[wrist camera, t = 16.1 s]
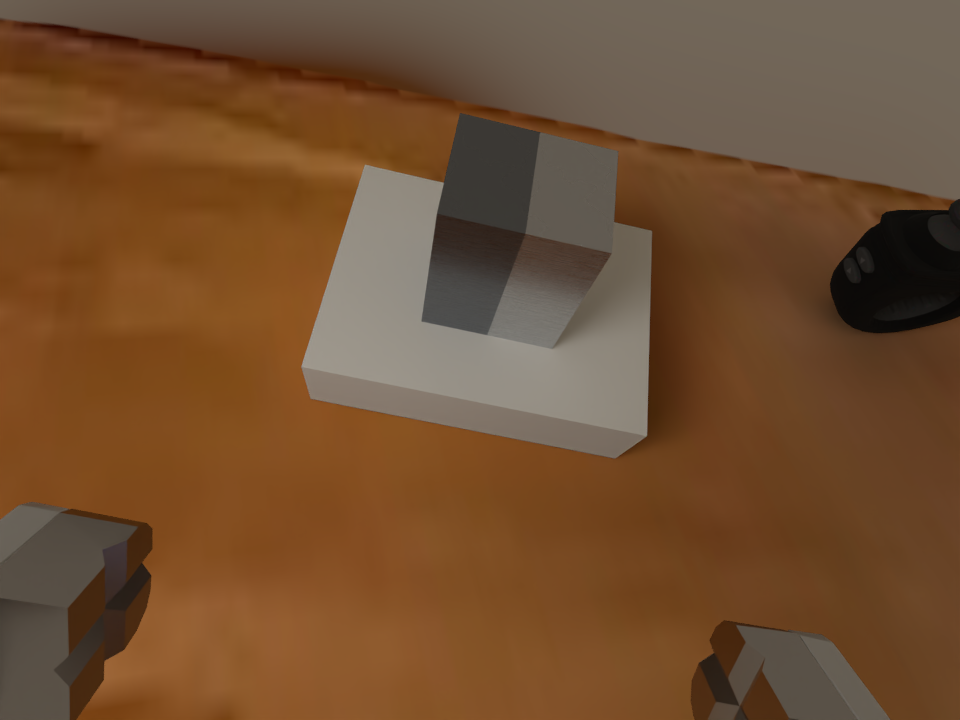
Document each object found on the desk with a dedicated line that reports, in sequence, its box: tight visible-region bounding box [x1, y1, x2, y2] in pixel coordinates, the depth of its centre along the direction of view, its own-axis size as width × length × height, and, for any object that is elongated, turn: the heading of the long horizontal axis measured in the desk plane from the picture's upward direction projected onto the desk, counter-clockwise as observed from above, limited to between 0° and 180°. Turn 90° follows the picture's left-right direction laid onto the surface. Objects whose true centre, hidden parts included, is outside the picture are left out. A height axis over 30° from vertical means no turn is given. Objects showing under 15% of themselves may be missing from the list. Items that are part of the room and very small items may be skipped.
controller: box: [830, 199, 960, 333], centre depth 33 cm, size 4×12×10 cm, turn 95°
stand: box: [302, 165, 652, 458], centre depth 31 cm, size 16×12×4 cm
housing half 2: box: [421, 113, 540, 335], centre depth 25 cm, size 3×5×8 cm, turn 171°
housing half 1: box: [487, 132, 618, 349], centre depth 25 cm, size 3×5×8 cm, turn 171°
